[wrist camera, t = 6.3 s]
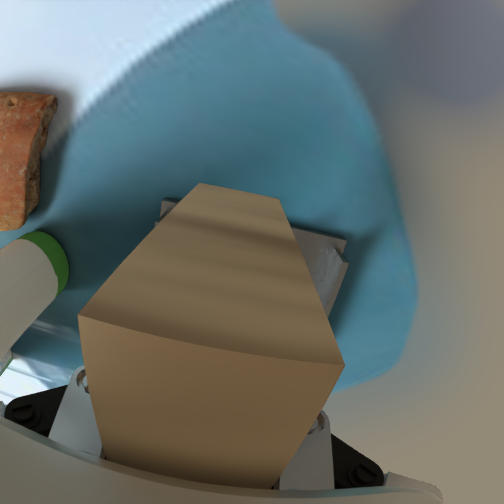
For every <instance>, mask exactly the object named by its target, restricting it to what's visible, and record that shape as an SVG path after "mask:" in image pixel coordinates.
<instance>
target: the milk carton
mask: <svg viewBox="0 0 504 504" xmlns="http://www.w3.org/2000/svg"><path fill="white" fill-rule="evenodd" d="M12 360H13V359H12V351H11V348H10V349H9V350H8V351H7V353H6V354H5V355H4V356H3V357H2V359H1V360H0V376H1V375H2V373H3V372H4V371H5V369H6V368H7V367H8V365H9V364H10V363H11V362H12Z"/></svg>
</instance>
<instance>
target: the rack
mask: <svg viewBox="0 0 504 504" xmlns="http://www.w3.org/2000/svg"><path fill="white" fill-rule="evenodd" d="M179 202H180V201H178V200H173V199H168V198H164V199H163V200H162V204H161V211H160V218H159V219H158V220H157V221H156V222H155V227H156V226H157V225H158V224H159V223H160V222H161V220H162V219H163V218H164V217H165V216H166V215H167V214H168V213H169V212H170V211H171V210H172V209H173V208H174V207H175V206H176V205H177V204H178V203H179ZM290 227H291V229H292V231H293V234H294V236H295V239H296V241H297V243H298V246H299V248H300V251H301V253H302V255H303V258H304V260H305V263H306V265H307V268H308V270H309V273H310V275H311V278H312V280H313V283H314V285H315V288H316V290H317V293H318V295H319V298H320V300H321V303H322V305H323V308H324V311H325V313H326V316H327V318H328V317H329V314H330V312H331V309H332V307H333V304H334V302H335V299H336V297H337V294H338V292H339V289H340V287H341V284H342V281H343V279H344V276H345V273H346V271H347V268H348V265H349V262H348V261H347V259H346V258H345V256H344V255H343V251H344V249H345V246H346V243H347V240H346V239H345V238H344V237H341V236H337V235H333V234H328V233H324V232H320V231H316V230H312V229H308V228H303V227H299V226H295V225H290Z"/></svg>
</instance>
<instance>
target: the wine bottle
mask: <svg viewBox="0 0 504 504" xmlns="http://www.w3.org/2000/svg"><path fill="white" fill-rule="evenodd" d="M68 277H69V265H68V260H67V257H66V254H65V252H64V250H63V249H62V247H61V246H60V244H59V243H58V242H57V241H56V240H55V239H54V238H53V237H52V236H50V235H48V234H46V233H44V232H39V231H34V232H29V233H26V234H25V235H23V236H21V237H20V238H18V239H16V240H14V241H13V242H11V243H9V244H8V245H6V246H5V247H3V248H2V249H0V360H1V359H2V357H3V356H4V355H5V354H6V353H7V351H8V350H9V349H10V348H11V347H12V346H13V344H14V343H15V342H16V341H17V340H18V339H19V337H20V336H21V335H22V334H23V333H24V332H25V331H26V329H27V328H28V327H29V326H30V325H31V324H32V323H33V322H34V321H35V319H36V318H37V317H38V316H39V315H40V314H41V313H42V312H43V311H44V310H45V309H46V308H47V307H48V305H49V304H50V303H51V302H52V301H53V300H54V299H55V298H56V297H57V296H58V295H59V294H60V293H61V291H62V290H63V289H64V288H65V286H66V283H67V281H68Z"/></svg>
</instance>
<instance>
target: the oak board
mask: <svg viewBox="0 0 504 504" xmlns="http://www.w3.org/2000/svg"><path fill="white" fill-rule="evenodd" d="M78 324H79V332H80V340H81V347H82V354H83V361H84V367H85V372H86V378H87V383H88V388H89V393H90V398H91V402H92V407H93V411H94V415H95V419H96V423H97V427H98V431H99V435H100V438H101V442H102V445H103V449H104V452H105V455H106V459H107V460H108V461H111V462H114V463H118V464H121V465H124V466H128V467H131V468H135V469H139V470H143V471H147V472H151V473H155V474H159V475H164V476H168V477H173V478H178V479H183V480H189V481H195V482H201V483H207V484H214V485H222V486H231V487H241V488H253V489H271V488H272V486H273V485H274V484H275V482H276V481H277V479H278V478H279V476H280V475H281V474H282V472H283V471H284V469H285V468H286V466H287V465H288V463H289V462H290V460H291V459H292V457H293V456H294V454H295V452H296V451H297V449H298V448H299V446H300V445H301V443H302V441H303V440H304V438H305V437H306V435H307V433H308V432H309V430H310V428H311V427H312V425H313V423H314V422H315V420H316V418H317V416H318V415H319V413H320V411H321V410H322V408H323V406H324V404H325V402H326V401H327V399H328V397H329V395H330V393H331V392H332V390H333V388H334V386H335V384H336V382H337V380H338V378H339V376H340V374H341V373H342V371H343V369H344V367H345V364H344V361H343V358H342V356H341V353H340V350H339V348H338V345H337V342H336V340H335V337H334V334H333V332H332V329H331V326H330V324H329V321H328V318H327V316H326V313H325V311H324V308H323V305H322V303H321V300H320V298H319V295H318V293H317V290H316V288H315V285H314V283H313V280H312V278H311V275H310V273H309V270H308V268H307V265H306V263H305V260H304V258H303V255H302V253H301V251H300V248H299V246H298V243H297V241H296V239H295V236H294V234H293V231H292V229H291V227H290V224H289V222H288V220H287V217H286V215H285V213H284V210H283V208H282V206H281V203H280V201H279V199H277V198H272V197H267V196H263V195H258V194H253V193H249V192H244V191H239V190H234V189H229V188H224V187H218V186H213V185H208V184H203V183H199V184H198V185H197V186H196V187H195V188H194V189H193V190H191V191H190V192H189V193H188V194H187V195H186V196H185V197H184V198H183V199H182V200H181V201H180V202H179V203H178V204H177V205H176V206H175V207H174V208H173V209H172V210H171V211H170V212H169V213H168V214H167V215H166V216H165V217H164V218H163V219H162V220H161V222H160V223H159V224H158V225H157V226H156V227H155V228H154V229H153V230H152V231H151V232H150V233H149V234H148V235H147V236H146V237H145V238H144V239H143V240H142V241H141V243H140V244H139V245H138V246H137V247H136V248H135V249H134V250H133V251H132V252H131V253H130V254H129V255H128V257H127V258H126V259H125V260H124V261H123V262H122V263H121V264H120V265H119V267H118V268H117V269H116V270H115V271H114V272H113V273H112V274H111V276H110V277H109V278H108V279H107V280H106V281H105V282H104V284H103V285H102V286H101V287H100V288H99V289H98V291H97V292H96V293H95V294H94V295H93V297H92V298H91V299H90V300H89V301H88V302H87V304H86V305H85V306H84V307H83V309H82V310H81V311H80V312H79V313H78Z"/></svg>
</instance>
